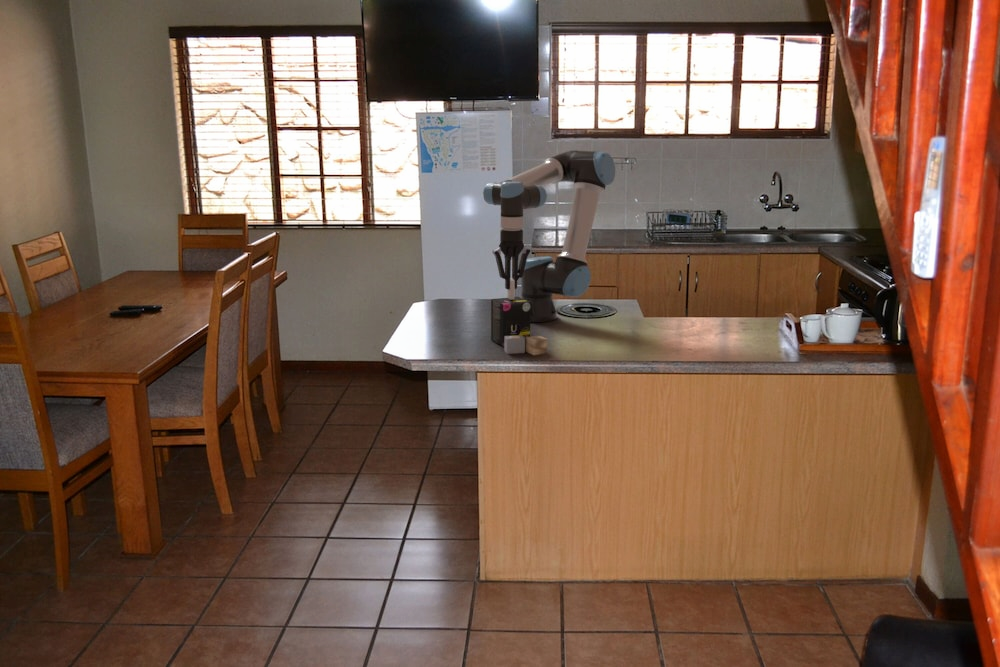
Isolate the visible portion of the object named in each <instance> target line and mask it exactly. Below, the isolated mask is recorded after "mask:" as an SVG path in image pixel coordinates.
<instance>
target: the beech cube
mask: <svg viewBox="0 0 1000 667" xmlns="http://www.w3.org/2000/svg"><path fill="white" fill-rule="evenodd" d="M547 347H548V338H546V337H543V336H541V335H530V337H526V344H525V352H526V353H527V354H530V355H531V356H538V355H545V354H547V353H548V348H547Z"/></svg>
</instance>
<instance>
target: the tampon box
mask: <svg viewBox="0 0 1000 667" xmlns="http://www.w3.org/2000/svg"><path fill="white" fill-rule="evenodd" d="M490 304H491V306H490V311H491V312H490V313H491V314H490V319H491V320H490V323H491V324H490V326H491V328H490V338H491V339H490V341H492V342H494V343H496V344H499V346H502V347H504V336H517V335H522V336H523V337H524V338H525V345H526V337H530V336H531V322H530V321H531V302H530V301H527V300H525V299H522V298H521V296H520V297H519V296H515V297H514V299H509V298H508V297H500V298H499V297H497V298H492V299H490Z"/></svg>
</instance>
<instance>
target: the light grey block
mask: <svg viewBox="0 0 1000 667" xmlns="http://www.w3.org/2000/svg"><path fill="white" fill-rule="evenodd" d="M503 348H504V350H503V351H504V352H505V353H506V355H509V354H525V352H526V344H525V338H524V337H523V336H522V335H517V336H504V346H503Z"/></svg>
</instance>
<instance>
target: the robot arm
mask: <svg viewBox="0 0 1000 667" xmlns="http://www.w3.org/2000/svg"><path fill="white" fill-rule="evenodd" d="M615 177H616V164H615V161H614V159H613V157H612V156H611V155H610V153H608V152H603V151H599V150H596V151H595V150H593V151H591V150H589V151H588V150H567V151H564V152H562V153H558V154H556V155H553V156H550V157H549V158H547V159H545V160H544V161H543V162H542V163H541V164H540V165H537V166H535V167H533V168H530V169H528V170H526V171H524V172H521V173H519V174H517V175H515V176H513V177H510V178H507V179H506V180H504V181H501V182H488V183H487V184H486V185H485V186H484V189H483V192H482V194H483V200H484V201H485V203H487V204H488V205H492V206H500V228H501V229H500V234H499V235H500V238H499V239H500V243H499V244H498V248H497V249H493V250H492V254H493V255H494V258H495V261H496V265H497V271H498V275H499V278H501V279H503V280H505V281H504V282H505V283H504V288H505V289H506V290H507V298H509V299H514V297H516V296H515V290H517V289H518V281H519V279H520V278H521V291H520V292H521V296H520V298H522V299H525V300H527V301H530V302H531V321H530V323H546V322H547V323H548V322H551V321H555V320H556V319H557V309H556V306H555V303H554V300H553V295H559V296H565V297H568V298H570V297H573V298H578V297H581V296H582V295H584V294H585V293H586V291H587V290H588V288H589V287H590V285H591V279H592V275H591V270H590V268H589V267H588V261H587V259H586V254H587V251H588V245H589V241H590V237H591V233H592V228H593V224H594V219H595V216H596V211H597V207H598V202H599V197H600V195H602V194H603V193H604V192H606V191H605V190H606V187H607V186H609V185H611V184H612V183H613V182H614V180H615ZM561 182H567V183H569V182H570V183H573V187H575V191H576V192H575V195H574V200H573V203H572V208H571V213H570V215H569V216H570V217H569V221H568V226H567V228H566V229H567V230H566V234H565V238H564V242H563V246H562V251H561V253H559V254H557V256H556V259H555V261H554V257H553V256H536V257H529V254H530V253H531V249H530V248H527V247H525V244H524V229H523V228H524V210H529V209H537V208H540V207H542V206H544V204H545V203H547V202H546V201H547V197H548V194H547V191H546V189H545V187H546V186H547V185H549V184H551V185H552V184H553V185H555V184H559V183H561ZM521 253H522V254H521ZM501 254H503V257H504V264H503V260H502V255H501ZM520 254H521V256H520ZM519 257H520V261H519Z"/></svg>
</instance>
